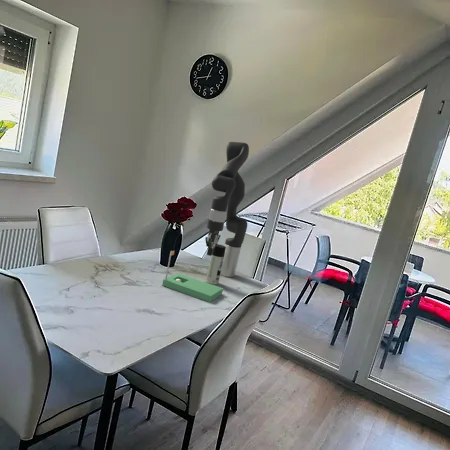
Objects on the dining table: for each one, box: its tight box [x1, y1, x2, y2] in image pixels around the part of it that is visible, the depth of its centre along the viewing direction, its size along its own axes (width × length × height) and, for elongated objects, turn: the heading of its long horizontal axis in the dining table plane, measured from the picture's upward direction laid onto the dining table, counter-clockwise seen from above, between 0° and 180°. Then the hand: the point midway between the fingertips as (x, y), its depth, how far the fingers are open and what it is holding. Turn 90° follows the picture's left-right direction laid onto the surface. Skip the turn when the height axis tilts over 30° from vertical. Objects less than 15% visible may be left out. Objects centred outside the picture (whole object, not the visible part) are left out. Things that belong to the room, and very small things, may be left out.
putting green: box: [161, 250, 224, 303], centre depth 202 cm, size 15×25×17 cm, turn 69°
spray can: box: [205, 243, 226, 286], centre depth 219 cm, size 7×7×20 cm
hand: (209, 255), depth 198 cm, fingers closed
